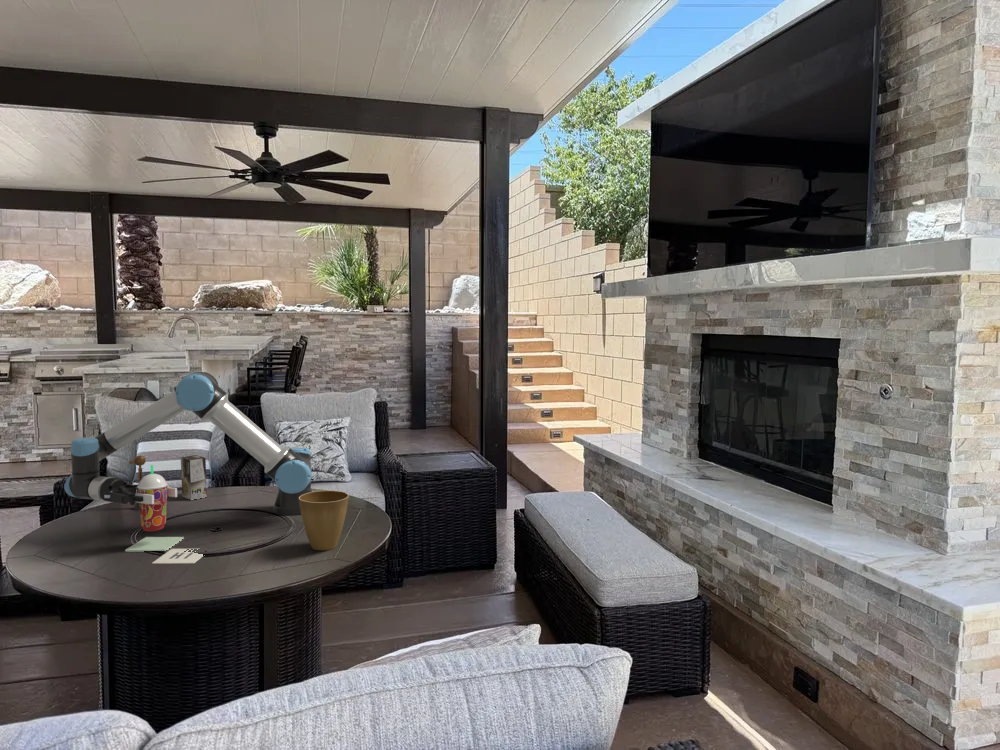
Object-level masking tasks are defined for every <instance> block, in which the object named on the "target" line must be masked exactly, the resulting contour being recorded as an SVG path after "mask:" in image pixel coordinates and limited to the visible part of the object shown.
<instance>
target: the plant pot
mask: <svg viewBox="0 0 1000 750" xmlns="http://www.w3.org/2000/svg"><path fill="white" fill-rule="evenodd" d="M349 497H350V494H349V493H348V492H344V491H340V490H318V491H312V492H310V493H306V494H303V495H301V496H299V504H300V510H301V514H300V516H301V520H302V523H303V526H304V531H305V533H306V536H307V539H308V541H309V544H310V547H311V549H313V550H315V551H329V550H334V549H335V548H336V547H337V546H338V543H339V540H340V538H341V534H342V532H343V531H342V530H343V527H344V524H345V519H346V515H347V510H348V506H349V505H348V504H349Z"/></svg>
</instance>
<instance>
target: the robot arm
mask: <svg viewBox="0 0 1000 750" xmlns="http://www.w3.org/2000/svg"><path fill="white" fill-rule="evenodd" d="M185 411H188V412H193V414H195V415H196V416H197V417H199V418H200V419H201V420H209V421H210V422H212V423H213V424H214V425H215V426H217V427H218V428H219V429H220V430H221V431H222V432H224V433H225V435H227V436H228V437H229V438H231V440H233V441H234V442H235V443H236V444H237V445H239V446H240V447H241V448H242V449H244V451H246V453H248V454H249V455H250V456H252V457H253V458H254V459H255V460H256V461H258V462H259V463H260V464H261V465H262V466H263V467H264V473H265V474H266V475H267V476H268V477H269V478H270V479H271V480H273V481H274V482H275V485H276V486H277V488H278V489H277V493H276V498H275V500H274V502H273V512H274V513H275V514H277V515H282V516H283V515H284V516H296V515H301V510H300V504H299V496H301V495H303V494H306V493H310V492H313V489H312V467H311V466H312V465H311V464H312V462H311V457H312V455H311V449H310V448H308V447H289V446H288V447H287V446H285V447H283V446H282V445H280V444H279V443H278V442H277V441H276V440H275V439H273V438H272V437H271V436H270V435H269V434H267V432H265V430H263V429H262V428H260V427H259V426H258V425H257V424H256V423H254V421H252V420H251V419H250V418H249V417H248V416H247V415H246V414H244V412H242V411H241V410H240V409H239V408H238V407H236V406H235V405H234V404H233V403H232V402H230V401H229V394H228V393H227V392H226V391H225V390H224V389H223V388H222V387H221V386H220V385H219V381H218V380H217V379H216V378H215V376H214V375H212V374H210V373H209V372H205V371H197V372H193V373H189V374H187V375H185V376H183V378H181V380H180V381H179V382H178V383H177V385H176V386H175V387H173V389H172V392H170V393H169V394H167V395H166V396H163V397H162V398H159V400H157V401H155V402H153V403H152V404H150V405H148V406H146V407H145V408H143V409H141V410H140V411H138V412H136V413H135V414H132V415H131V416H129V417H128V418H126V419H124V420H122V421H121V422H119V423H117V424H115V425H114V426H112V427H110V428H109V429H107V430H105V431H103V432H102V433H99V434H98V435H97V436H94V437H91V436H90V437H79V438H75V439H73V440H72V441H71V444H70V456H71V458H70V460H71V475H70V476H69V477H67V478H66V479H65V480H66V481H65V483H64V485H63V489H64V491H65V492H66V493H65V494H67V495H68V496H69V497H73V498H77V499H83V500H84V499H85V500H92V501H100V502H101V503H104V502H107V503H108V502H109V503H118V504H119V503H120V504H123V505H126V504H128V503H129V505H130V506H135V504H136V502H137V503H145V504H154V495H150V494H142V493H138V488H137V486H138V485H139V482H138V483H137V484H132V483H127V482H126V481H125V480H124V479H123V478H119V477H111V476H101V475H100V462H101V461H102V460H104V459H105V458H107V457H110V455H112V454H113V453H115V452H117V451H118V450H121V449H122V448H123V447H125V446H127V445H128V444H131V443H132V442H134V441H135V440H137V439H139V438H141V437H142V436H144V435H145V434H147V433H149V432H151V431H153V430H154V429H156V428H158V427H160V426H161V425H163V424H165V423H166V422H168V421H170V420H172V419H173V418H175V417H176V416H179V415H180V414H181V413H184V412H185ZM167 497H170V498H171V497H172V498H177V497H178V488H177V487H169V486H167Z"/></svg>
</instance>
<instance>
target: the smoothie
mask: <svg viewBox="0 0 1000 750" xmlns="http://www.w3.org/2000/svg"><path fill="white" fill-rule="evenodd" d="M142 477H143V478H142V479H141V481H140V483H139V482H138V483H139V485H138V484H137V485H138V486H137V488H138V493H142V494H150V495H154V504H145V503H139V509H140V510H139V516H140V525H141V527H142V529H143V530H144V531H145V532H157V531H160V530H163V529H164V528H165V525H166V524H167V507H168V505H167V504H168V496H167V487H168V485H169V484H168V482H167V481H166V479H165V478H164V477H163V476H162V475H160V474H158V473H154V464H151V465H150V473H149V474H147V475H145V476H142Z"/></svg>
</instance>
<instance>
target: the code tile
mask: <svg viewBox="0 0 1000 750" xmlns="http://www.w3.org/2000/svg"><path fill="white" fill-rule="evenodd" d="M187 549H189V550H191V549H193V550H194V549H195V548H170V549H168V550H167V551H166V552H165V553H164V554H162V555H161V556H160V557H158V558H157V559H156V560H154V561H153V562H152V563H151V564H153V565H154V564H155V565H157V564H161V565H162V564H163V565H165V564H169V565H170V564H171V565H172V564H173V565H174V564H176V565H177V564H179V565H181V564H184V565H185V564H186V565H187V564H195V563H197V562H198V561H199V560H200V559H202V558H203V557H204V556H203V554H198V553H194V552H192V551H193V550H191V552H188V551H189V550H187ZM196 549H197V550H198V549H199V548H196ZM186 550H187V551H186ZM184 551H186V552H184ZM195 552H196V551H195Z"/></svg>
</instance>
